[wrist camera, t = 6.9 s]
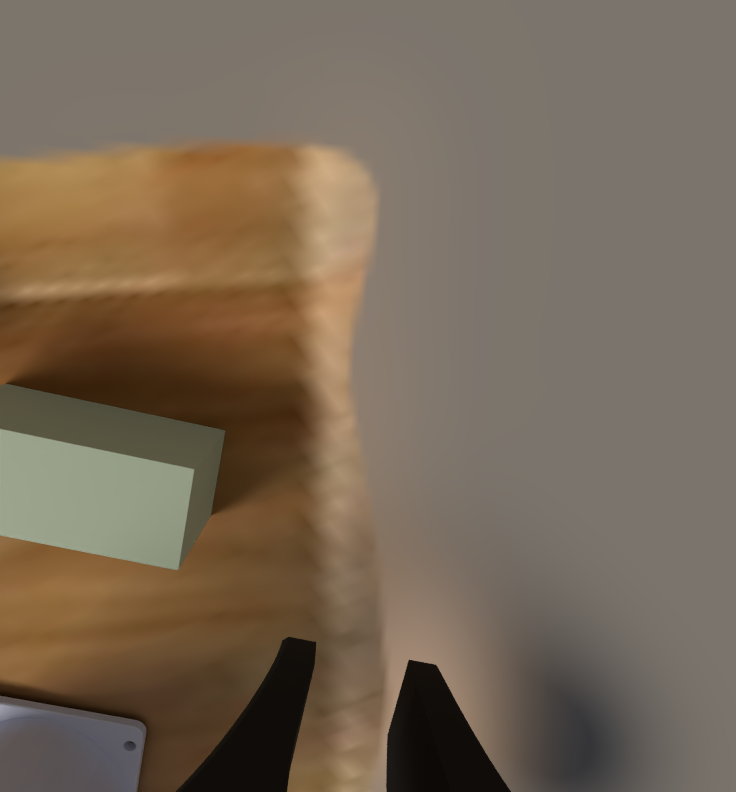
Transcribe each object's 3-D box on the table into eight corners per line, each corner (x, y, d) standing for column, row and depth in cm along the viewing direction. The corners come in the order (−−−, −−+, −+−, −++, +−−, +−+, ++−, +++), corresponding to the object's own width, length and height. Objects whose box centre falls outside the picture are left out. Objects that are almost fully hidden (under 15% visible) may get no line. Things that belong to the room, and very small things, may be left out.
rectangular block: (2, 470, 21) (-81, 519, 17) (8, 382, 20) (-77, 413, 16) (212, 513, 21) (178, 570, 18) (226, 429, 21) (194, 469, 17)
